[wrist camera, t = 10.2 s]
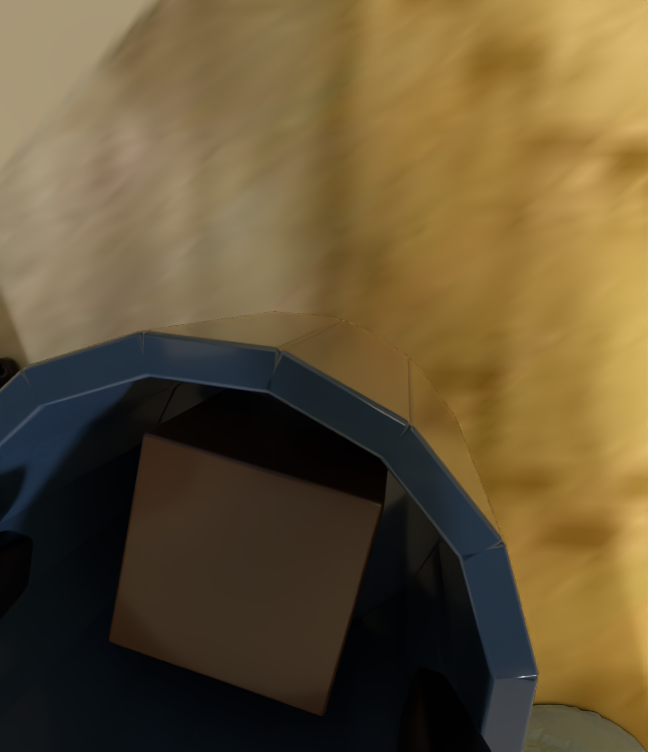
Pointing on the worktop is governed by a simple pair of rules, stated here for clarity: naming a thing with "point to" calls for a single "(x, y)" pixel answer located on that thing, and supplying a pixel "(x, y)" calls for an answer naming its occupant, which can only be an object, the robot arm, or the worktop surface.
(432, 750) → the robot arm
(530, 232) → the worktop surface
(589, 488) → the worktop surface
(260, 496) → the brown cube
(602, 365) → the worktop surface
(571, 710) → the green tapered tumbler
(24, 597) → the cup
